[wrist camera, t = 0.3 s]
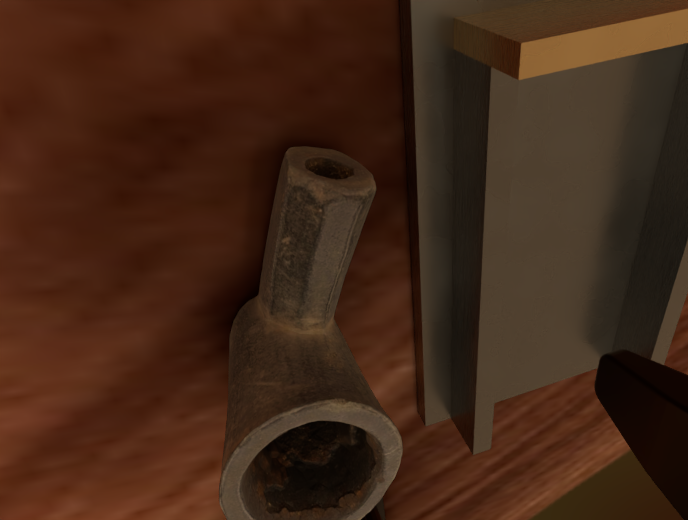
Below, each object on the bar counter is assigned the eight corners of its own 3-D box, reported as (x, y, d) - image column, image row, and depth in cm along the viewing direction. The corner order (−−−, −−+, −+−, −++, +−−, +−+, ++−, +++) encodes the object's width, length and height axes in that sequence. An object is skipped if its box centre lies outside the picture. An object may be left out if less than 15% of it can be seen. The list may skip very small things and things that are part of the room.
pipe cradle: (632, 340, 33) (700, 401, 29) (418, 412, 30) (460, 490, 26) (750, -90, 20) (899, -87, 16) (397, -30, 18) (472, -8, 14)
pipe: (380, 145, 21) (485, 253, 15) (318, 390, 27) (373, 541, 21) (218, 128, 19) (259, 247, 12) (192, 399, 25) (209, 571, 19)
